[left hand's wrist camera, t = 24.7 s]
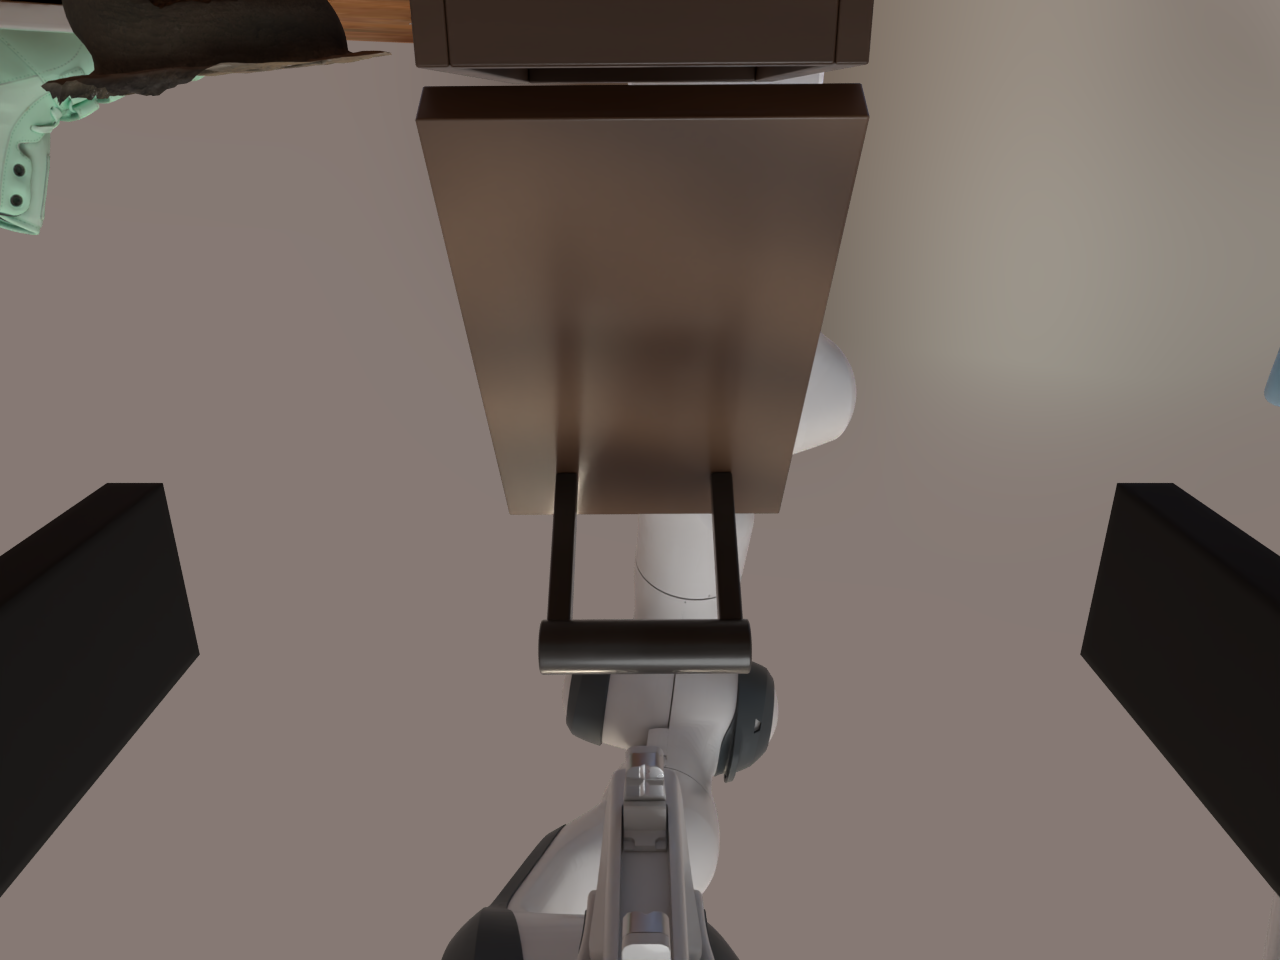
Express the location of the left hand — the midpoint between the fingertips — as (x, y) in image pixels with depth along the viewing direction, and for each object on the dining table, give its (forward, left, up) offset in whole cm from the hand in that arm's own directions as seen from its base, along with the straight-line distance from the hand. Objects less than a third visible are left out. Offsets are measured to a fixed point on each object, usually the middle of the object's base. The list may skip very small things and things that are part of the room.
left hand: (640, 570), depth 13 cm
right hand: (-17, +5, +22) cm, 28 cm away
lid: (-14, +4, 0) cm, 14 cm away
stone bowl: (-53, +49, -16) cm, 74 cm away
